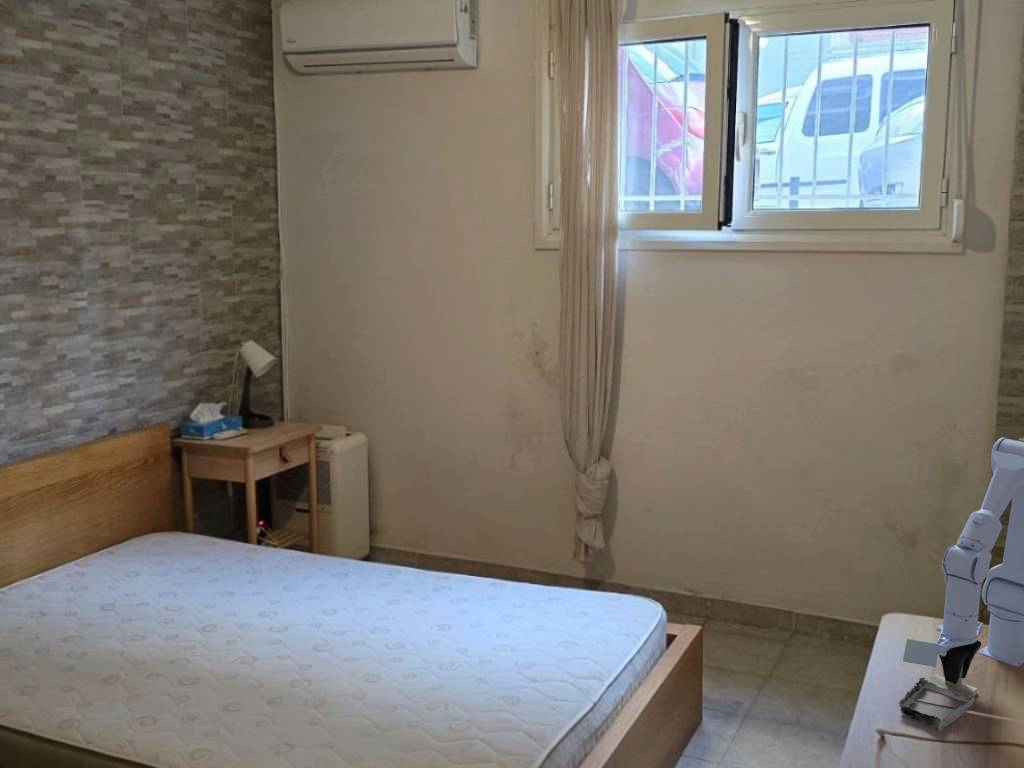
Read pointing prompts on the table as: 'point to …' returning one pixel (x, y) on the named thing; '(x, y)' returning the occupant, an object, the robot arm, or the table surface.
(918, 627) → the table surface
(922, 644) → the rest mat
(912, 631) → the table surface
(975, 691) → the scraper
